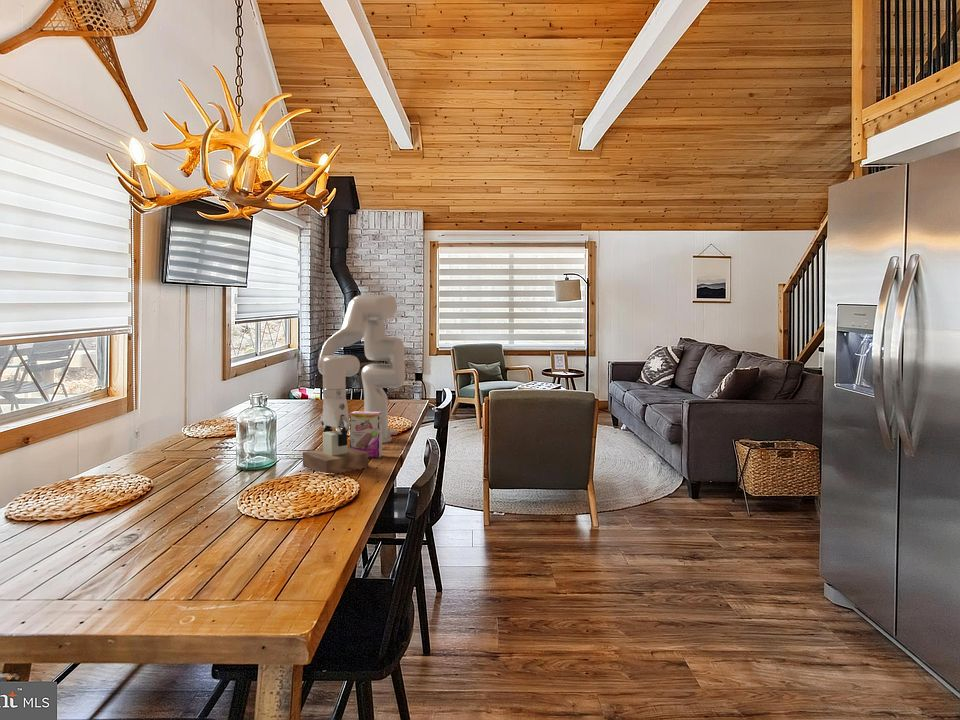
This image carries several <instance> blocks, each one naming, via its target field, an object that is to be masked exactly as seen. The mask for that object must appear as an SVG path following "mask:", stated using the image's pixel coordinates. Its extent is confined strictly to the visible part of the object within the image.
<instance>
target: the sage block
mask: <svg viewBox="0 0 960 720" xmlns="http://www.w3.org/2000/svg"><path fill="white" fill-rule="evenodd" d="M338 434H339V432H338V429H336V430H332V431H329V432H323V431H322V449H323V453H326V454H328V455H331V456H333V455H339V454H344V453H348V451H347V447H348V444H347V445H345V446H338Z"/></svg>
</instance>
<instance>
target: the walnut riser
mask: <svg viewBox="0 0 960 720" xmlns="http://www.w3.org/2000/svg"><path fill="white" fill-rule="evenodd" d="M347 451H348V453H344V454H339V455H333V456H331V455H328V454H326V453H323V448H320V449H314V450H309V451H308V450H307V451H303V452H302V467H303V466H304V467H303V468H305V467H307V468H310V469H313V470H315V471H320V472H325V473H336V474H335V475H339V474H343V473H342V472H344V473H347V472H346V471H349V472H352V471H351V470H354V471H357V470H356V469H359V470H363V469H362V468H364V469H367V467H368V468H369V458H368V453H366V452H363V451H360V450H357V449H353V448H350V446H347ZM307 468H306V469H307ZM310 469H309V470H310ZM315 471H314V472H315ZM338 473H339V474H338Z"/></svg>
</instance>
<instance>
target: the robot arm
mask: <svg viewBox="0 0 960 720" xmlns="http://www.w3.org/2000/svg"><path fill="white" fill-rule="evenodd" d="M397 305H398V304H397V300H396V299H395V297H394V296H392V295H390V294H359V295H356V296H354V297H353V298H352V299H351V300H350V301H349V302H348V305H347V307H346V310H345V311H346V312H345V314H344V318H343V319H342V320H343V322H342V324H341V328H340V329H339V330H338V331H336V332H335V333H334V334H332V336H330V337H329V338H328V339H327V340H326V341H325V342H324V343H323V345H322V347H321V350H320V353H319V356H318V360H317V369H318V372H319V373H320V374H321V375H322V399H323V402H322V414H321V415H320V420H321V426H322V427H321V428H322V433H323V432H329V431H333V428H334V429H336V430H338V432H339V434H338V446H345V445H347V446H348V434H349V431H350V414H349V407H348V401H347V391H346V390H347V389H346V387H347V386H346V383H347V382H346V377H353V376H356V375H357V374H358V373H359V371H360V369H361V363H360V360H359V358H358V357H357V356H356V355H352V354H335V353H337V351H340V349H343V348H344V347H348V346H351V345H353V344H355V343H358V342H359V341H362V339H363V346H364V349H363V350H364V356H365V357H366V359H367V360H368V361H377V362H378V361H379V362H380V361H381V362H383V361H385V362H386V361H387V362H390V363H369V364H366V365H364V366H363V367H362V369H361V372H360V373H361V375H360V376H361V382H362V387H363V408H364V409H363V411H365V412H382V444H387V443H389V442H392V440H393V437H392V435H397V434H398V432H399V430H398V428H396V429H395V428H394V429H391V428H389V416H388V415H389V408H388V407H389V400H388V399H389V398H388V395H387V393H386V391H385V390H384V388H390V389H391V388H393V389H394V388H397V389H398V388H401V387H403V386H404V384H405V381H406V366H405V364H406V363H405V362H406V361H405V358H406V357H405V346H404V341H402V339H401V338H399V337H395V336H394V337H392V336H391V337H390V336H386V324H385V322H384V321H385V320H387V319H390V318H392V317H393V316H394V315H395V314H396V312H397Z"/></svg>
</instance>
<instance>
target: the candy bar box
mask: <svg viewBox="0 0 960 720" xmlns="http://www.w3.org/2000/svg"><path fill="white" fill-rule="evenodd" d="M349 422H350V425H349V447H350V448H353V449H357V450H360V451H363V452H366V453H368V457H369V458H371V459H372V458H375V459H379V458H381V457H382V456H383V443H382V412H365V411H364V410H363V411H362V410H361V411H360V410H357V411H356V410H353V411H352V412H350V413H349ZM369 458H368V459H369Z"/></svg>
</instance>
